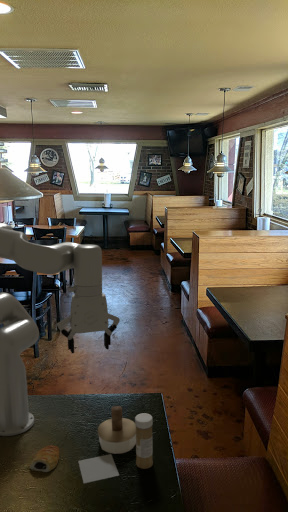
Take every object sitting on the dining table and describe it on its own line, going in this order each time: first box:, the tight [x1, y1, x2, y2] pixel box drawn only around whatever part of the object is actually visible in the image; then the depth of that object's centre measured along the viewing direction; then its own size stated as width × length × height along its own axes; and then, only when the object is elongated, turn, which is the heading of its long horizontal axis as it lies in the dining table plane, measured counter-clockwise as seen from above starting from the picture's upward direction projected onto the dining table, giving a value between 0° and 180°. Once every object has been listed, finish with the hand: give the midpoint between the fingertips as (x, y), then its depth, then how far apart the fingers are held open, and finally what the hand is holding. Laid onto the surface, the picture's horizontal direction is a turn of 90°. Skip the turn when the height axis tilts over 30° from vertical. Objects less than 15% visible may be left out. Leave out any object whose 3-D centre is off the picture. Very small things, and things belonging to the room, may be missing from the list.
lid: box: [97, 405, 136, 443], centre depth 117 cm, size 11×11×7 cm
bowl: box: [98, 434, 136, 455], centre depth 118 cm, size 10×10×4 cm
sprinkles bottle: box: [134, 412, 154, 470], centre depth 108 cm, size 5×5×13 cm
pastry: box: [29, 444, 60, 473], centre depth 111 cm, size 9×7×4 cm
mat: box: [77, 453, 120, 484], centre depth 107 cm, size 9×9×1 cm
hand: (89, 349), depth 115 cm, fingers open, 9 cm apart
